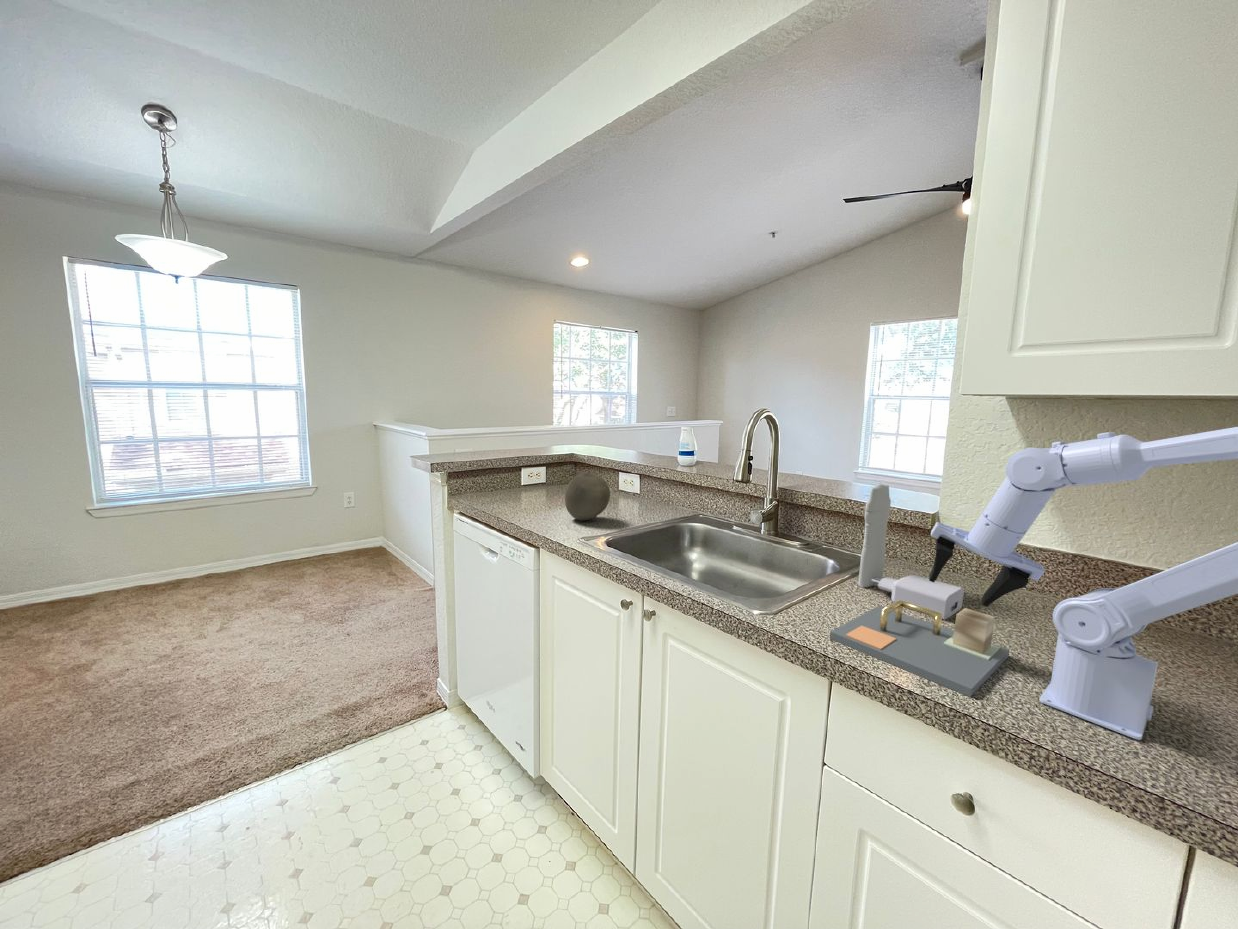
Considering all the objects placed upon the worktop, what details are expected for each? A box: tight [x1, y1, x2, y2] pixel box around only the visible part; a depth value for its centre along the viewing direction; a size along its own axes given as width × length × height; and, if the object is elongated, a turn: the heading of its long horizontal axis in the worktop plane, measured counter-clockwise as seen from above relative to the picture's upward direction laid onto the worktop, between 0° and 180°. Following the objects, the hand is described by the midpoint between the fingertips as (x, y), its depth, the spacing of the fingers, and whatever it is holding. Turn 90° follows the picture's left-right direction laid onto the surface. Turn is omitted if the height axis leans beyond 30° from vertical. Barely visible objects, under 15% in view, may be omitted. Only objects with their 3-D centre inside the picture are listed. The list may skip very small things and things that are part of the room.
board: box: [829, 605, 1010, 698], centre depth 80 cm, size 20×18×1 cm
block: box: [953, 607, 996, 654], centre depth 78 cm, size 4×4×5 cm
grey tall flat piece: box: [857, 483, 892, 589], centre depth 107 cm, size 11×4×22 cm, turn 130°
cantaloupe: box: [564, 472, 611, 522], centre depth 155 cm, size 14×14×15 cm
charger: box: [872, 573, 965, 621], centre depth 98 cm, size 5×9×15 cm
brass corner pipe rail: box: [880, 600, 943, 636], centre depth 82 cm, size 7×7×4 cm
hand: (957, 590), depth 79 cm, fingers open, 7 cm apart
